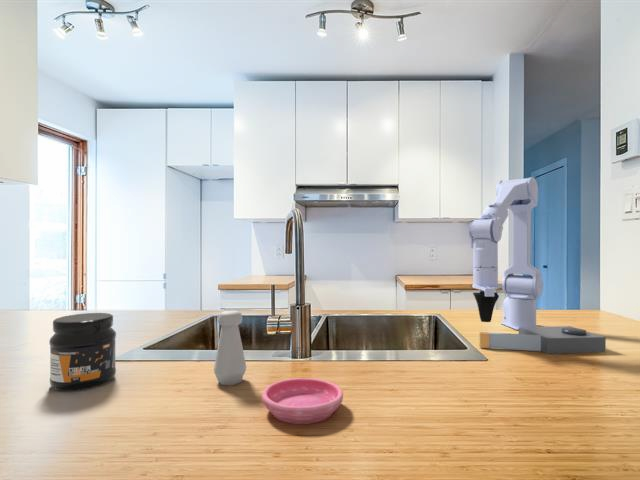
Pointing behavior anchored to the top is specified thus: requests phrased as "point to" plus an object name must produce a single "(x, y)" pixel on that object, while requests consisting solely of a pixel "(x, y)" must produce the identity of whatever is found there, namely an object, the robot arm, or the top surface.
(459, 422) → the top surface
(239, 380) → the salt shaker
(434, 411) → the top surface
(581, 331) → the grey flat block
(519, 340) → the side door
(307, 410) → the pink shallow bowl
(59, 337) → the supplement container
